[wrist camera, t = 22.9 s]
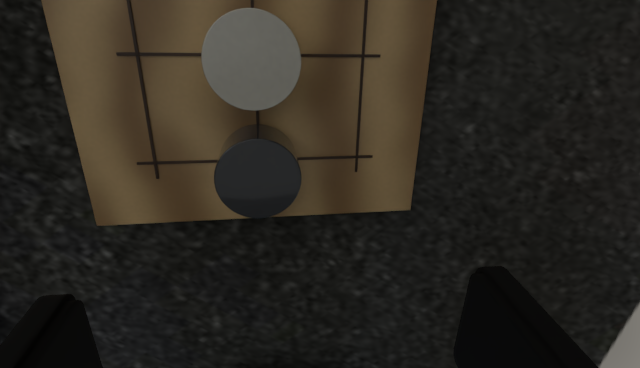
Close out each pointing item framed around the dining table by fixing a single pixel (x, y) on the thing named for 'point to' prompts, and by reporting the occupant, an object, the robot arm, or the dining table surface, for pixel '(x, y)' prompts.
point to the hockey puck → (257, 172)
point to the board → (223, 119)
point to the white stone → (251, 59)
